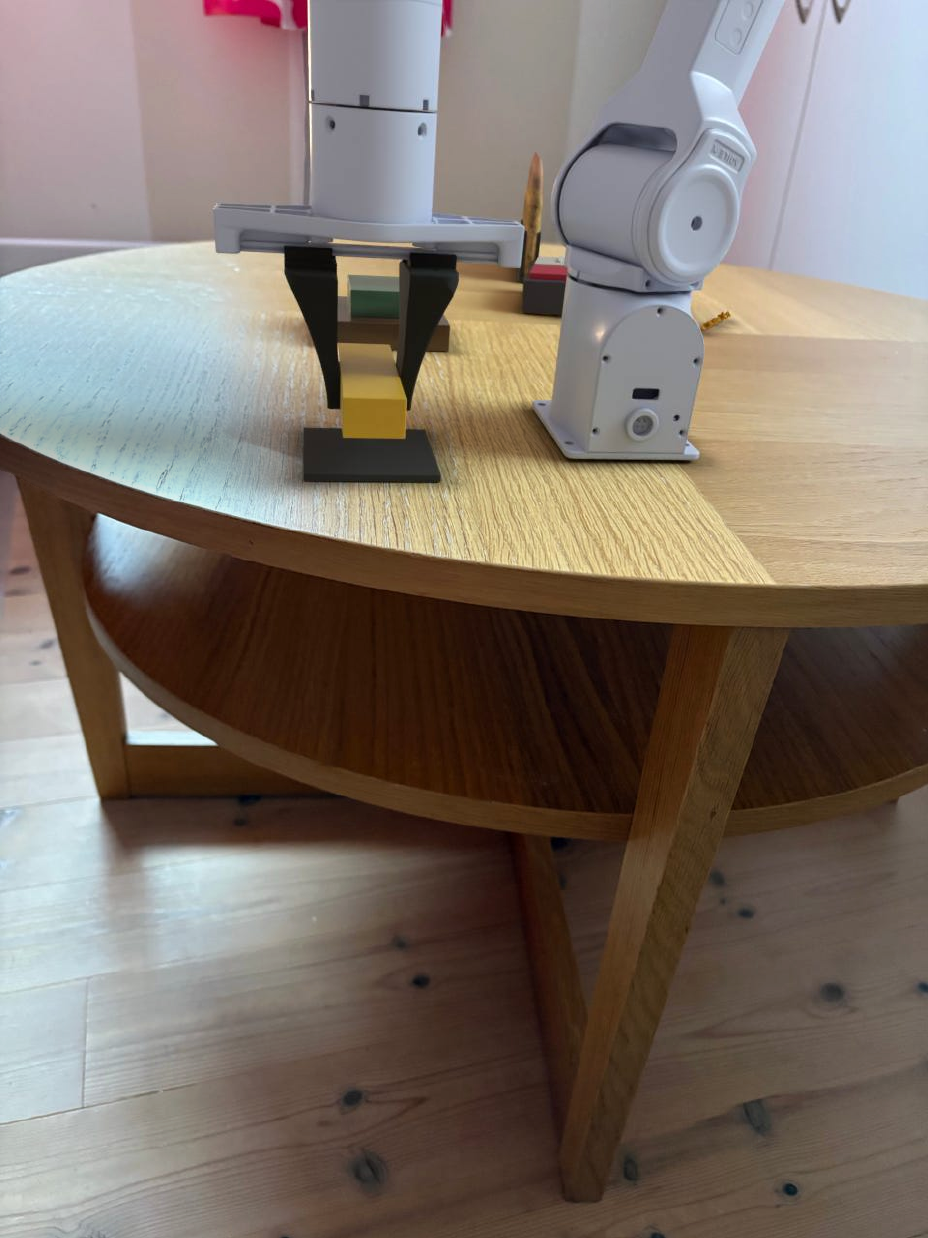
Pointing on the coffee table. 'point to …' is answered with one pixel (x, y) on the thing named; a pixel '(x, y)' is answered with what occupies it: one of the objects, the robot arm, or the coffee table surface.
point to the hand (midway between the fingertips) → (368, 404)
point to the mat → (367, 457)
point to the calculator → (545, 286)
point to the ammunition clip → (532, 217)
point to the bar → (370, 392)
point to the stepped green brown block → (378, 314)
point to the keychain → (715, 320)
